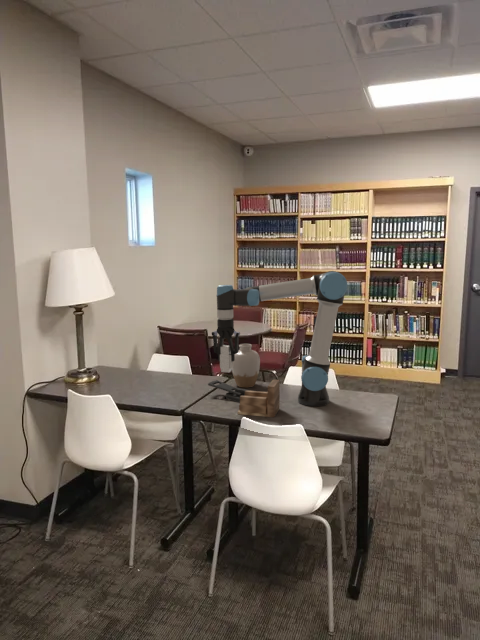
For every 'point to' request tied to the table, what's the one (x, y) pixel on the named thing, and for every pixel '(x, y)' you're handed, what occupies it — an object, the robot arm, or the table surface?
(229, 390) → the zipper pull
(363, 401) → the table surface
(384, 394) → the table surface
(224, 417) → the table surface
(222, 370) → the white tall block
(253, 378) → the vase
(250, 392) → the wooden box
